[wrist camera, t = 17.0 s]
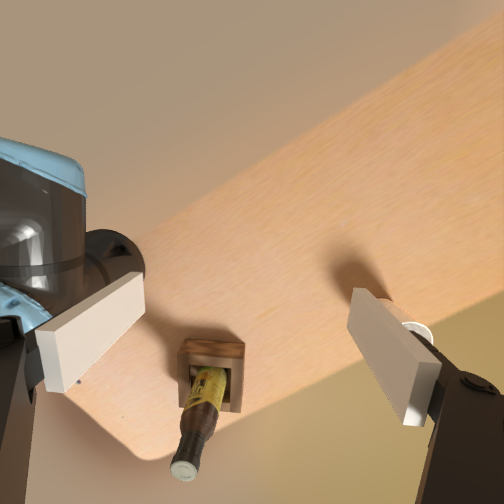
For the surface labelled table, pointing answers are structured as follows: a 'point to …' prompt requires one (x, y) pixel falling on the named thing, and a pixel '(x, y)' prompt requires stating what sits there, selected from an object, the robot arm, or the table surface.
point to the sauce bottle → (198, 420)
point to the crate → (214, 356)
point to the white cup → (407, 319)
